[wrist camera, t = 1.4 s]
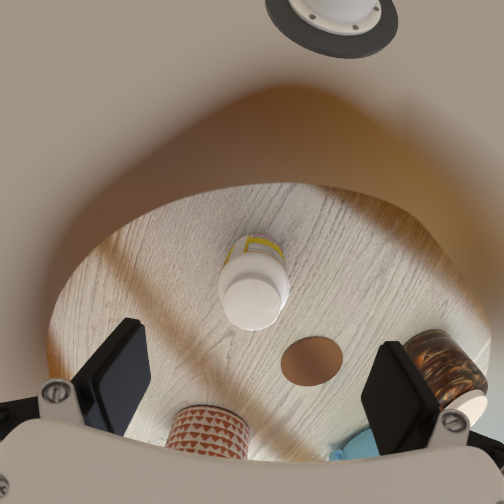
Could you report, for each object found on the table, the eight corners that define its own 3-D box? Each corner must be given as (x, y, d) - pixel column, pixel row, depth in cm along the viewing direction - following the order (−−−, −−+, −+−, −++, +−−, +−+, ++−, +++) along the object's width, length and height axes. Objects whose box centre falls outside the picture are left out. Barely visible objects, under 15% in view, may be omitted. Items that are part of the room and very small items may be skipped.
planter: (251, 449, 45) (247, 502, 33) (183, 445, 46) (169, 494, 34) (246, 405, 42) (240, 467, 29) (167, 401, 42) (144, 456, 30)
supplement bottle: (244, 292, 36) (232, 351, 24) (219, 246, 35) (194, 287, 22) (292, 271, 35) (305, 323, 23) (269, 222, 34) (271, 252, 21)
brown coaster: (311, 325, 37) (312, 326, 36) (354, 356, 38) (354, 358, 38) (268, 366, 39) (268, 368, 39) (311, 392, 40) (312, 394, 40)
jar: (394, 394, 40) (423, 458, 26) (388, 347, 38) (428, 415, 23) (450, 367, 39) (489, 420, 24) (451, 316, 36) (504, 369, 21)
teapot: (347, 474, 48) (356, 520, 34) (318, 441, 44) (326, 499, 31) (423, 439, 44) (442, 482, 31) (411, 397, 41) (439, 450, 27)
